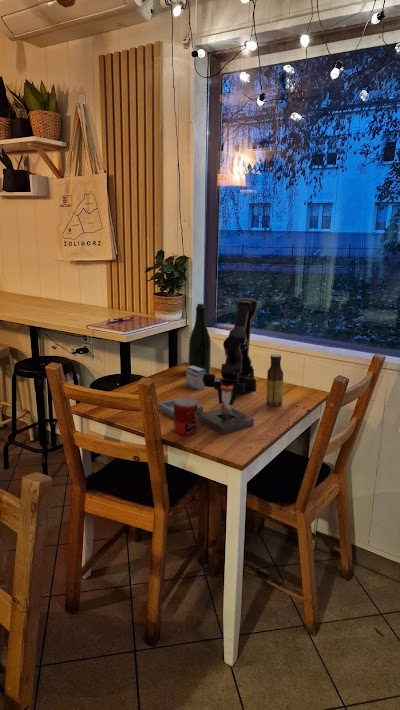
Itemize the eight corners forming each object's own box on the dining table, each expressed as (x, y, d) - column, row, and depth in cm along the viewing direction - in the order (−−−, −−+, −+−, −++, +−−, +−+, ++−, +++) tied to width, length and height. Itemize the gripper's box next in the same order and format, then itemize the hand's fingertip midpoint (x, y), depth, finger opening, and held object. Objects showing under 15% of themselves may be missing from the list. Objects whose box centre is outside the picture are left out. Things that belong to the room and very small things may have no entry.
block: (228, 412, 178) (228, 406, 177) (253, 425, 167) (254, 418, 166) (197, 420, 169) (198, 414, 169) (222, 434, 159) (223, 427, 158)
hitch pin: (226, 419, 171) (228, 382, 168) (234, 423, 168) (236, 386, 164) (216, 422, 168) (217, 384, 165) (224, 426, 165) (226, 388, 161)
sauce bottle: (283, 402, 189) (287, 354, 184) (280, 407, 184) (284, 358, 178) (267, 400, 191) (270, 352, 186) (263, 405, 186) (267, 356, 180)
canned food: (188, 438, 155) (189, 406, 152) (168, 432, 159) (169, 401, 156) (201, 430, 161) (202, 400, 159) (181, 425, 165) (182, 395, 163)
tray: (184, 403, 186) (184, 397, 185) (202, 412, 177) (203, 406, 176) (158, 409, 179) (158, 403, 178) (176, 419, 170) (176, 413, 169)
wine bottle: (186, 375, 220) (187, 305, 211) (190, 369, 230) (191, 301, 221) (208, 377, 218) (210, 306, 209) (211, 371, 228) (214, 302, 219)
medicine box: (185, 385, 206) (186, 366, 204) (193, 383, 209) (193, 365, 207) (197, 390, 200) (198, 371, 198) (205, 388, 203) (206, 369, 201)
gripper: (204, 351, 168) (195, 391, 160) (257, 356, 163) (250, 397, 156) (208, 366, 177) (200, 405, 170) (259, 371, 173) (253, 411, 165)
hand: (225, 404), depth 165 cm, fingers closed on hitch pin, 4 cm apart
